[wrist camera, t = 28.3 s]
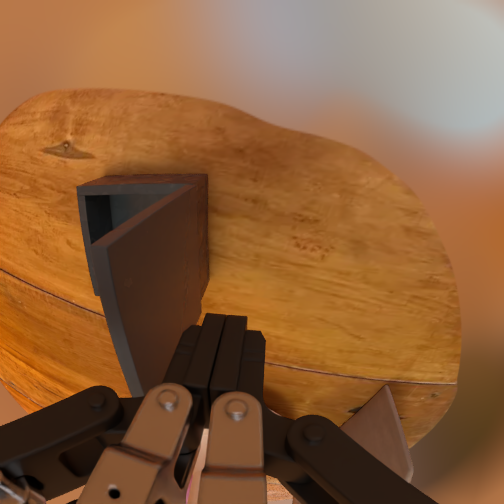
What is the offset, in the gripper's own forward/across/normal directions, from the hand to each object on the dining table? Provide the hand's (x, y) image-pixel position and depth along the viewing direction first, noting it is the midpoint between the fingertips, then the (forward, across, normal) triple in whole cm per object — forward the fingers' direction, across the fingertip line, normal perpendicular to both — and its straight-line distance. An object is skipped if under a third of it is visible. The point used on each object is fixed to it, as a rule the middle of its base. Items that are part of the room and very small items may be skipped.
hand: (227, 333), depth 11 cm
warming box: (+15, +9, +1) cm, 18 cm away
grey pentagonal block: (+16, -19, +30) cm, 39 cm away
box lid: (+5, +5, +2) cm, 7 cm away
